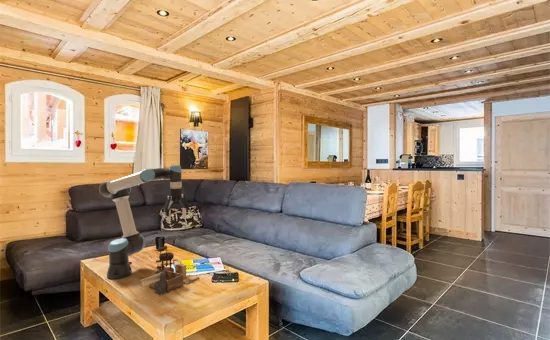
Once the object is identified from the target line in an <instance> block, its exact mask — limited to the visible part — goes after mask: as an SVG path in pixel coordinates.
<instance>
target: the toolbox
mask: <svg viewBox="0 0 550 340" xmlns="http://www.w3.org/2000/svg"><path fill="white" fill-rule="evenodd" d="M158 270H159V269H158ZM158 270H156V271H154V273H153V274H152V275H155V274H157V273H160V270H159V271H158ZM161 272H162V273H160V280H159V281H156V282H154V283H152V284H149V285H148V286H149V289H152V290H155V292H154V293H155V294H158V295H160V296H164V295H165V294H169V293H171V292H173V291H176V290H178V289H179V288H181V287H184V284H183V274H180V273H175V271H174V272H171V271H167V270H164V271H161ZM152 275H149V276H148V277H150V276H152Z"/></svg>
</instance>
